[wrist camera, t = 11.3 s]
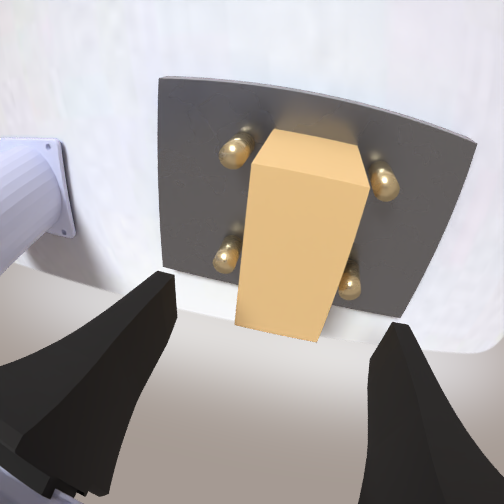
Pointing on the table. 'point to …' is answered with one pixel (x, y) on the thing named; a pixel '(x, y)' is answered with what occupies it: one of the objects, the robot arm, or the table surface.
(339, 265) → the ochre block
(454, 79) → the table surface
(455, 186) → the chassis plate
